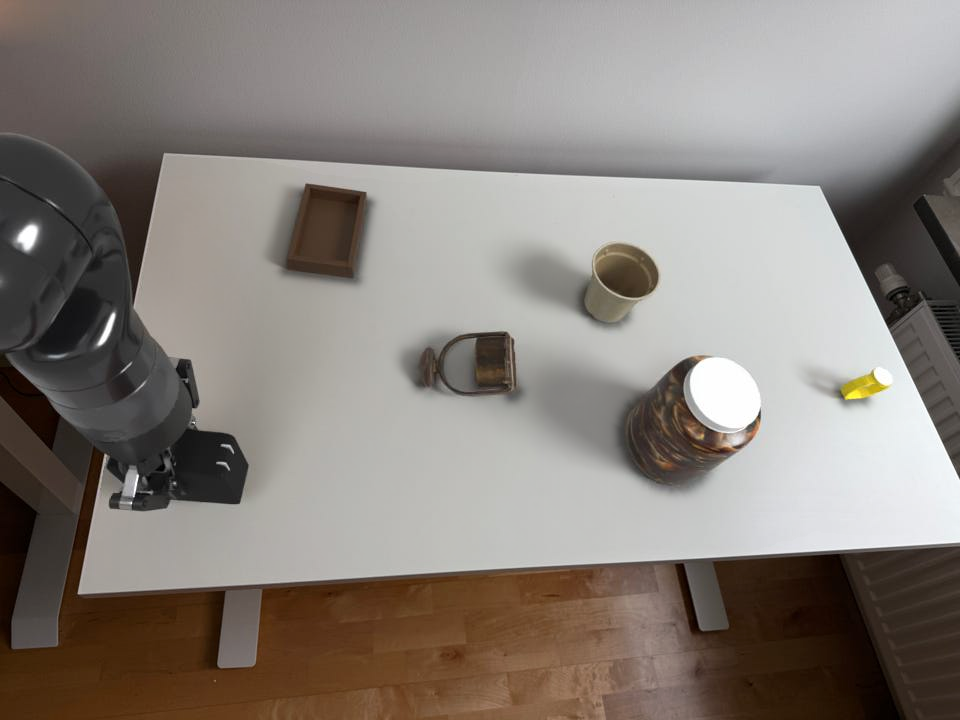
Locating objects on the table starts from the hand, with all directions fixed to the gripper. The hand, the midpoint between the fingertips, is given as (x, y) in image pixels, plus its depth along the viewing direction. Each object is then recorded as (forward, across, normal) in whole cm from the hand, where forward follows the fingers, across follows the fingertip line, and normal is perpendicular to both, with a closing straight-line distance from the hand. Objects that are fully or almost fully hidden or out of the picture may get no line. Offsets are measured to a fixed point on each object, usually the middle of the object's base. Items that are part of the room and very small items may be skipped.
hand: (183, 466), depth 58 cm
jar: (+9, -12, +54) cm, 56 cm away
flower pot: (+9, -32, +47) cm, 58 cm away
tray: (+9, -38, +7) cm, 39 cm away
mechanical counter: (+9, -19, +28) cm, 35 cm away
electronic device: (+5, 0, 0) cm, 5 cm away
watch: (+8, -22, +83) cm, 87 cm away
